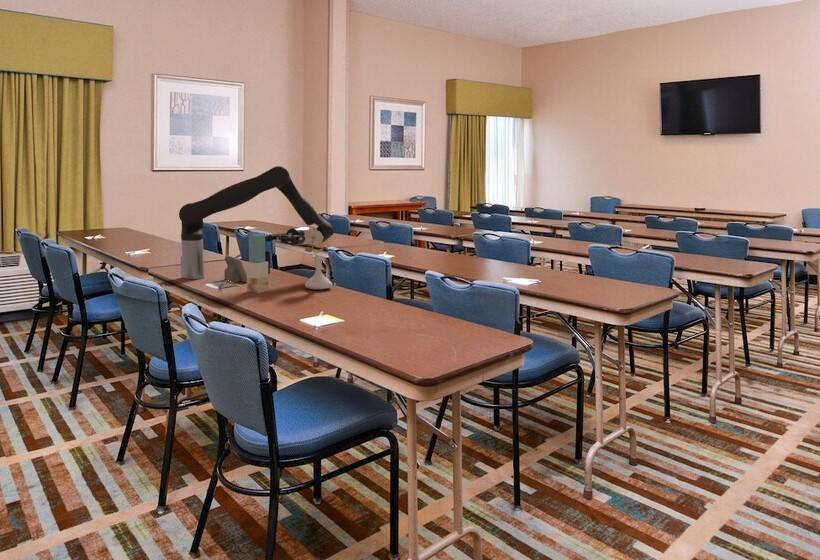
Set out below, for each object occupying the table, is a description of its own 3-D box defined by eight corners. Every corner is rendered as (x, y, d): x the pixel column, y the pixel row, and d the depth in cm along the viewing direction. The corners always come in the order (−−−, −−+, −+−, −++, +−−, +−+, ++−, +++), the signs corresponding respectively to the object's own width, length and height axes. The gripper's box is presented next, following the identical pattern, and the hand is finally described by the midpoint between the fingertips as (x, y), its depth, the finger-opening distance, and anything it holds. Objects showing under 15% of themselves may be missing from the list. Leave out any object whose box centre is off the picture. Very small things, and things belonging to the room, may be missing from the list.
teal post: (249, 262, 263) (248, 235, 261) (256, 261, 267) (256, 234, 265) (257, 263, 261) (257, 235, 259) (265, 261, 265) (264, 234, 263)
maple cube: (247, 291, 265) (246, 277, 264) (257, 289, 270) (257, 275, 269) (258, 293, 262) (258, 278, 261) (268, 291, 267) (268, 276, 266)
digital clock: (249, 283, 284) (248, 258, 282) (228, 284, 281) (227, 259, 279) (243, 277, 299) (242, 254, 297) (223, 278, 295) (222, 254, 294)
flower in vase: (337, 288, 275) (337, 228, 271) (320, 292, 265) (320, 230, 261) (313, 285, 281) (312, 226, 277) (296, 289, 272) (295, 228, 268)
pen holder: (268, 275, 305) (267, 253, 303) (248, 274, 305) (247, 253, 303) (272, 272, 314) (272, 251, 312) (253, 271, 314) (252, 250, 313)
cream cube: (246, 277, 264) (246, 262, 263) (257, 275, 269) (256, 260, 268) (258, 278, 261) (257, 263, 260) (268, 276, 266) (268, 261, 265)
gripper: (286, 226, 287) (260, 229, 274) (311, 228, 280) (286, 231, 267) (286, 243, 289) (261, 247, 275) (312, 245, 282) (287, 249, 268)
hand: (273, 239), depth 271 cm, fingers open, 8 cm apart
